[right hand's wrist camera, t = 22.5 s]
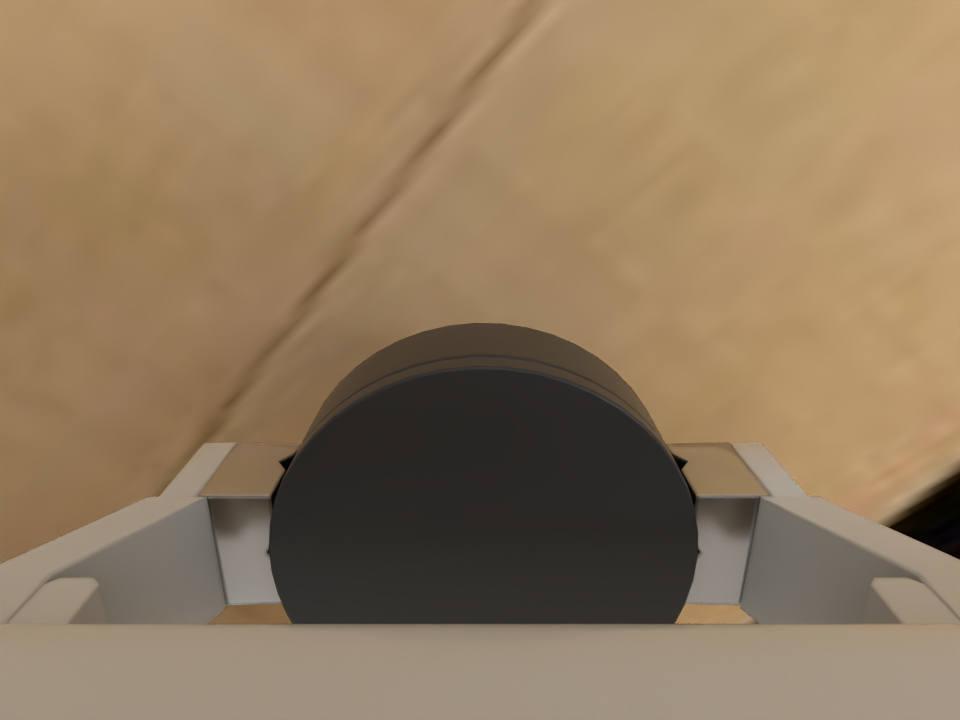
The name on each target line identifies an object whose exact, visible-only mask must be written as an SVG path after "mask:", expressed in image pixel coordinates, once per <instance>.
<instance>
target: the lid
mask: <svg viewBox="0 0 960 720" xmlns="http://www.w3.org/2000/svg"><path fill="white" fill-rule="evenodd" d="M269 554H270V563H271V571H272V575H273V579H274V582H275V586H276V589H277V593H278V596H279V598H280V600H281V602H282V604H283V607H284V609H285V611H286V613H287V615H288V617H289V618H290V620H291V622H292V623H293V624H674V623H675V622H676V620H677V618H678V616H679V614H680V612H681V610H682V609H683V607H684V605H685V603H686V600H687V597H688V595H689V592H690V589H691V586H692V583H693V580H694V575H695V569H696V563H697V558H698V527H697V520H696V513H695V508H694V505H693V501H692V498H691V495H690V492H689V489H688V486H687V484H686V482H685V480H684V478H683V476H682V474H681V472H680V470H679V468H678V466H677V464H676V462H675V460H674V458H673V456H672V455H671V453H670V451H669V449H668V447H667V446H666V444H665V442H664V440H663V438H662V436H661V435H660V433H659V431H658V429H657V427H656V426H655V424H654V422H653V420H652V418H651V417H650V415H649V413H648V411H647V409H646V408H645V406H644V405H643V403H642V402H641V401H640V399H639V398H638V396H637V395H636V393H635V392H634V391H633V389H632V388H631V387H630V386H629V385H628V384H627V383H626V382H625V381H624V380H623V379H622V378H621V377H620V376H619V374H618V373H617V372H615V371H614V370H613V369H612V368H610V367H609V366H608V365H607V364H605V363H604V362H603V361H602V360H600V359H599V358H598V357H596V356H594V355H593V354H591V353H589V352H588V351H586V350H584V349H583V348H581V347H579V346H578V345H576V344H573V343H571V342H569V341H566V340H564V339H562V338H559V337H557V336H555V335H552V334H549V333H545V332H541V331H538V330H534V329H531V328H527V327H520V326H513V325H507V324H492V323H471V324H461V325H451V326H446V327H441V328H437V329H433V330H428V331H424V332H421V333H418V334H415V335H413V336H410V337H407V338H405V339H402V340H399V341H397V342H395V343H393V344H392V345H390V346H388V347H386V348H384V349H382V350H380V351H378V352H376V353H375V354H374V355H372V356H371V357H369V358H368V359H367V360H365V361H364V362H362V363H361V364H360V365H358V366H357V367H356V368H355V369H354V370H353V371H351V372H350V373H349V374H348V375H347V376H346V377H345V378H344V379H343V380H342V381H341V382H340V383H339V384H338V385H337V387H336V388H335V389H334V390H333V392H332V393H331V394H330V395H329V397H328V398H327V399H326V400H325V402H324V404H323V405H322V407H321V409H320V411H319V412H318V414H317V416H316V418H315V419H314V421H313V423H312V425H311V427H310V429H309V431H308V432H307V434H306V436H305V438H304V440H303V442H302V444H301V446H300V447H299V449H298V451H297V453H296V455H295V457H294V459H293V461H292V462H291V464H290V466H289V468H288V470H287V472H286V474H285V476H284V477H283V480H282V483H281V485H280V488H279V490H278V493H277V496H276V498H275V501H274V506H273V511H272V515H271V520H270V528H269Z"/></svg>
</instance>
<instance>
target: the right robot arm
mask: <svg viewBox="0 0 960 720" xmlns="http://www.w3.org/2000/svg"><path fill="white" fill-rule="evenodd" d="M300 446H301V444H285V443H238V442H218V443H204V444H203V445H202V446H201V447H200V448H199V450H198V451H197V452H196V453H195V454H194V455H193V457H192V458H191V459H190V460H189V461H188V463H187V464H186V465H185V466H184V467H183V469H182V470H181V471H180V472H179V473H178V474H177V476H176V477H175V478H174V479H173V480H172V482H171V483H170V484H169V485H168V486H167V488H166V489H165V490H164V491H163V492H162V493H161V495H160V496H149V497H146V498H144V499H142V500H140V501H138V502H135V503H133V504H131V505H129V506H126V507H124V508H122V509H120V510H118V511H115V512H113V513H111V514H109V515H107V516H104V517H102V518H100V519H98V520H96V521H93V522H91V523H89V524H87V525H84V526H82V527H80V528H78V529H76V530H73V531H71V532H69V533H67V534H65V535H62V536H60V537H58V538H56V539H54V540H51V541H49V542H47V543H45V544H42V545H40V546H38V547H36V548H34V549H31V550H29V551H27V552H25V553H23V554H20V555H18V556H16V557H14V558H12V559H9V560H7V561H5V562H3V563H0V720H960V560H959V559H957V558H954V557H952V556H950V555H948V554H946V553H943V552H941V551H939V550H937V549H934V548H932V547H930V546H928V545H925V544H923V543H921V542H919V541H917V540H914V539H912V538H910V537H908V536H905V535H903V534H901V533H899V532H897V531H894V530H892V529H890V528H888V527H885V526H883V525H881V524H879V523H877V522H874V521H872V520H870V519H868V518H865V517H863V516H861V515H859V514H857V513H854V512H852V511H850V510H848V509H845V508H843V507H841V506H839V505H836V504H834V503H832V502H830V501H828V500H825V499H823V498H821V497H819V496H807V495H806V493H805V492H804V491H803V490H802V489H801V488H800V486H799V485H798V484H797V483H796V482H795V481H794V479H793V478H792V477H791V476H790V475H789V474H788V472H787V471H786V470H785V469H784V468H783V467H782V466H781V464H780V463H779V462H778V461H777V460H776V459H775V457H774V456H773V455H772V454H771V453H770V452H769V450H768V449H767V448H766V447H765V446H764V445H763V444H761V443H758V442H742V443H729V442H727V443H685V444H666V446H667V447H668V449H669V451H670V453H671V455H672V456H673V458H674V460H675V462H676V464H677V466H678V468H679V470H680V472H681V474H682V476H683V478H684V480H685V482H686V484H687V486H688V489H689V492H690V495H691V498H692V501H693V505H694V508H695V513H696V520H697V527H698V558H697V563H696V569H695V575H694V580H693V583H692V586H691V589H690V592H689V595H688V597H687V600H686V603H685V604H711V605H740V608H741V609H742V610H743V611H744V612H746V613H747V614H748V615H749V616H750V617H752V618H753V619H754V620H755V621H756V622H758V623H759V624H208V623H210V622H211V621H212V620H213V619H214V618H215V617H217V616H218V615H219V614H220V613H221V612H223V611H224V610H225V609H226V605H254V604H282V602H281V600H280V598H279V596H278V593H277V589H276V586H275V582H274V579H273V575H272V571H271V563H270V554H269V528H270V520H271V515H272V511H273V506H274V501H275V498H276V496H277V493H278V490H279V488H280V485H281V483H282V480H283V477H284V476H285V474H286V472H287V470H288V468H289V466H290V464H291V462H292V461H293V459H294V457H295V455H296V453H297V451H298V449H299V447H300Z"/></svg>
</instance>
